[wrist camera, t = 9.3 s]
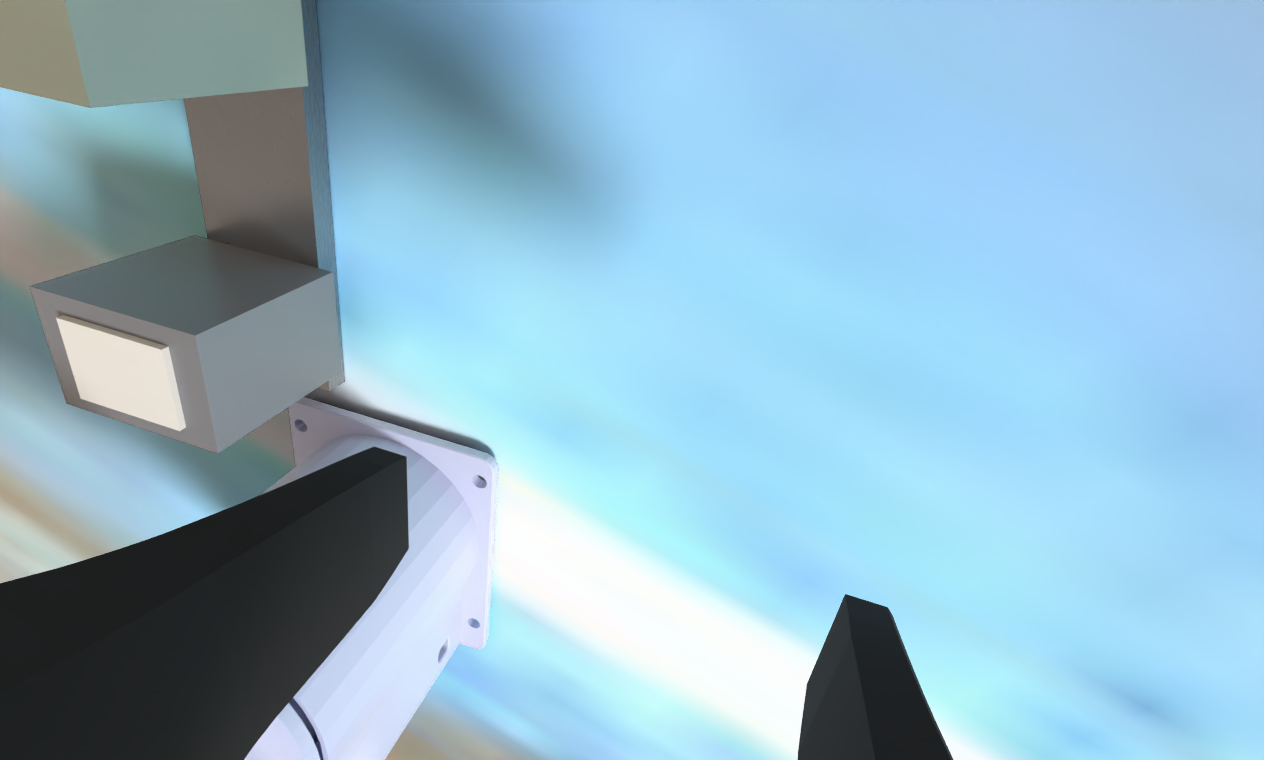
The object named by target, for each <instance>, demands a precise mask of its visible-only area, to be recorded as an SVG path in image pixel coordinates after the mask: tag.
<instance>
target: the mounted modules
mask: <svg viewBox="0 0 1264 760" xmlns="http://www.w3.org/2000/svg"><path fill="white" fill-rule="evenodd" d="M29 287H30V290H31V293H32V296H33V299H34V302H35V306H36V309H37V312H38V315H39V318H40V321H41V325H42V328H43V331H44V334H45V337H46V340H47V343H48V347H49V350H50V353H51V356H52V359H53V362H54V365H55V369H56V372H57V375H58V378H59V381H60V384H61V387H62V391H63V394H64V397H65V400H66V403H67V404H70V405H73V406H76V407H79V408H82V409H85V410H88V411H91V412H94V413H97V414H100V415H103V416H106V417H109V418H112V419H115V420H118V421H121V422H124V423H127V424H130V425H133V426H136V427H139V428H142V429H145V430H148V431H151V432H154V433H157V434H160V435H163V436H166V437H169V438H172V439H175V440H178V441H181V442H184V443H187V444H190V445H193V446H196V447H199V448H203V449H206V450H209V451H212V452H215V453H218V454H219V453H220V452H222V451H223V450H225V449H226V448H228V447H229V446H231V445H232V444H234V443H235V442H237V441H238V440H240V439H241V438H243V437H244V436H246V435H247V434H249V433H250V432H252V431H253V430H255V429H256V428H258V427H259V426H261V425H262V424H264V423H265V422H267V421H268V420H270V419H271V418H273V417H274V416H276V415H277V414H279V413H280V412H282V411H283V410H285V409H286V408H288V407H289V406H291V405H292V404H294V403H295V402H297V401H298V400H300V399H301V398H303V397H304V396H306V395H307V394H309V393H310V392H312V391H313V390H315V389H316V388H318V387H319V386H321V385H322V384H324V383H325V382H327V381H328V380H330V379H331V378H333V377H334V376H336V375H337V374H339V373H340V372H341V369H340V356H339V343H338V331H337V318H336V305H335V293H334V280H333V272H331V271H327V270H323V269H320V268H316V267H312V266H308V265H304V264H301V263H297V262H293V261H289V260H286V259H282V258H278V257H274V256H271V255H267V254H263V253H259V252H255V251H252V250H248V249H244V248H240V247H237V246H233V245H229V244H225V243H222V242H218V241H214V240H210V239H206V238H203V237H199V236H195V235H194V236H191V237H188V238H185V239H181V240H178V241H175V242H172V243H168V244H165V245H162V246H159V247H155V248H152V249H149V250H146V251H142V252H139V253H136V254H133V255H130V256H126V257H123V258H120V259H117V260H113V261H110V262H107V263H104V264H100V265H97V266H94V267H91V268H88V269H84V270H81V271H78V272H75V273H71V274H68V275H65V276H62V277H58V278H55V279H52V280H49V281H45V282H42V283H39V284H36V285H33V286H29Z"/></svg>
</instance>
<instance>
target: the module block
mask: <svg viewBox="0 0 1264 760" xmlns="http://www.w3.org/2000/svg"><path fill="white" fill-rule="evenodd" d="M304 86H308V77H307V66H306V54H305V43H304V31H303V20H302V9H301V0H0V87H2V88H6V89H11V90H15V91H19V92H24V93H28V94H32V95H37V96H41V97H45V98H50V99H54V100H58V101H63V102H67V103H71V104H76V105H80V106H85V107H89V108H93V107H103V106H113V105H123V104H133V103H143V102H153V101H163V100H173V99H183V98H193V97H203V96H213V95H224V94H234V93H244V92H254V91H264V90H274V89H284V88H294V87H304Z"/></svg>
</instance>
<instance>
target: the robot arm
mask: <svg viewBox="0 0 1264 760" xmlns="http://www.w3.org/2000/svg"><path fill="white" fill-rule="evenodd" d="M288 410H289V418H290V426H291V434H292V442H293V450H294V458H295V466H296V467H295V468H293V469H292V470H291V471H290V472H288V473H287V474H286V475H284V476H283V477H282V478H281V479H279V480H278V481H277V482H275V483H274V484H273V485H272V486H270V487H269V488H268V489H267V490H265V491H264V492H263V493H261V494H260V495H259V496H257V497H255V498H253V499H250V500H248V501H246V502H243V503H241V504H239V505H236V506H234V507H231V508H228V509H226V510H223V511H221V512H218V513H216V514H213V515H211V516H208V517H205V518H203V519H200V520H198V521H195V522H193V523H190V524H188V525H185V526H182V527H180V528H177V529H175V530H172V531H170V532H167V533H164V534H162V535H159V536H156V537H153V538H150V539H148V540H145V541H142V542H139V543H136V544H133V545H130V546H127V547H124V548H121V549H118V550H115V551H112V552H109V553H106V554H102V555H99V556H96V557H93V558H90V559H87V560H84V561H80V562H77V563H74V564H71V565H67V566H64V567H60V568H57V569H53V570H49V571H46V572H42V573H38V574H34V575H31V576H27V577H23V578H19V579H15V580H12V581H8V582H4V583H0V760H385V758H386V757H387V755H388V754H389V752H390V751H391V749H392V748H393V746H394V744H395V743H396V741H397V740H398V738H399V737H400V735H401V734H402V732H403V730H404V729H405V727H406V726H407V724H408V723H409V721H410V719H411V718H412V716H413V715H414V713H415V712H416V710H417V709H418V707H419V705H420V704H421V702H422V701H423V699H424V698H425V696H426V695H427V693H428V691H429V690H430V688H431V687H432V685H433V684H434V682H435V681H436V679H437V677H438V676H439V674H440V673H441V671H442V670H443V668H444V667H445V665H446V663H447V662H448V660H449V659H450V657H451V656H452V654H453V652H454V651H455V649H456V648H457V646H458V645H459V643H460V644H463V645H466V646H469V647H471V648H475V649H480V648H483V647H484V646H485V644H486V642H487V641H488V638H489V622H490V605H491V588H492V571H493V553H494V536H495V519H496V502H497V485H498V463H497V462H496V460H495V459H494V458H493V457H492V456H491V455H490V454H487V453H485V452H482V451H479V450H476V449H472V448H469V447H466V446H462V445H459V444H456V443H453V442H449V441H446V440H443V439H439V438H436V437H433V436H430V435H426V434H423V433H420V432H417V431H413V430H410V429H407V428H403V427H400V426H397V425H394V424H390V423H387V422H384V421H381V420H377V419H374V418H371V417H367V416H364V415H361V414H358V413H354V412H351V411H348V410H344V409H341V408H338V407H335V406H331V405H328V404H325V403H322V402H318V401H315V400H312V399H308V398H305V397H303V398H301V399H300V400H298V401H297V402H295V403H294V404H292V405H291V406H289V408H288ZM303 421H304V422H305V423H304V422H303ZM479 476H481V477H483V478H484V479H485V480H486V482H485V481H483V480H481V479H480V477H479ZM798 760H953V758H952V756H951V754H950V752H949V749H948V747H947V745H946V743H945V741H944V739H943V736H942V734H941V732H940V730H939V728H938V726H937V723H936V721H935V719H934V717H933V714H932V712H931V710H930V708H929V705H928V703H927V701H926V698H925V696H924V694H923V691H922V689H921V686H920V684H919V682H918V679H917V677H916V674H915V672H914V670H913V667H912V665H911V662H910V660H909V657H908V655H907V652H906V650H905V647H904V644H903V642H902V639H901V637H900V634H899V631H898V629H897V626H896V623H895V621H894V618H893V616H892V614H891V612H890V610H889V609H888V607H885V606H881V605H878V604H875V603H872V602H869V601H865V600H862V599H859V598H856V597H853V596H850V595H846V594H845V596H844V598H843V601H842V603H841V605H840V608H839V610H838V612H837V615H836V617H835V620H834V622H833V624H832V627H831V629H830V631H829V634H828V636H827V638H826V641H825V643H824V645H823V648H822V650H821V653H820V655H819V657H818V660H817V662H816V664H815V667H814V669H813V671H812V674H811V676H810V678H809V681H808V683H807V689H806V696H805V703H804V710H803V718H802V725H801V734H800V742H799V750H798Z"/></svg>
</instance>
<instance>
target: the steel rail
mask: <svg viewBox="0 0 1264 760" xmlns="http://www.w3.org/2000/svg"><path fill="white" fill-rule="evenodd" d="M301 9H302V20H303V31H304V43H305V54H306V66H307V77H308V86H304V87H294V88H284V89H274V90H264V91H254V92H244V93H234V94H224V95H213V96H203V97H193V98H184V102H185V108H186V114H187V120H188V126H189V131H190V137H191V143H192V149H193V155H194V161H195V166H196V172H197V178H198V184H199V190H200V196H201V201H202V207H203V213H204V219H205V225H206V231H207V236H208V239H210V240H214V241H218V242H222V243H225V244H229V245H233V246H237V247H240V248H244V249H248V250H252V251H255V252H259V253H263V254H267V255H271V256H274V257H278V258H282V259H286V260H289V261H293V262H297V263H301V264H304V265H308V266H312V267H316V268H320V269H323V270H327V271H331V272H333V280H334V293H335V305H336V318H337V331H338V343H339V356H340V369H341V372H340V373H339V374H337V375H336V376H334V377H333V378H331V379H330V380H328V381H327V382H325V383H324V384H322V385H321V386H319V387H318V388H319V389H323V390H326V391H329V392H330V391H331V390H333V389H334V388H336V387H337V386H338V385H340V384H341V383H343V382H344V381H345V376H344V363H343V350H342V336H341V323H340V310H339V297H338V284H337V271H336V257H335V244H334V231H333V218H332V205H331V192H330V178H329V165H328V152H327V139H326V126H325V113H324V100H323V86H322V73H321V60H320V47H319V34H318V21H317V7H316V0H301Z"/></svg>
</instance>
